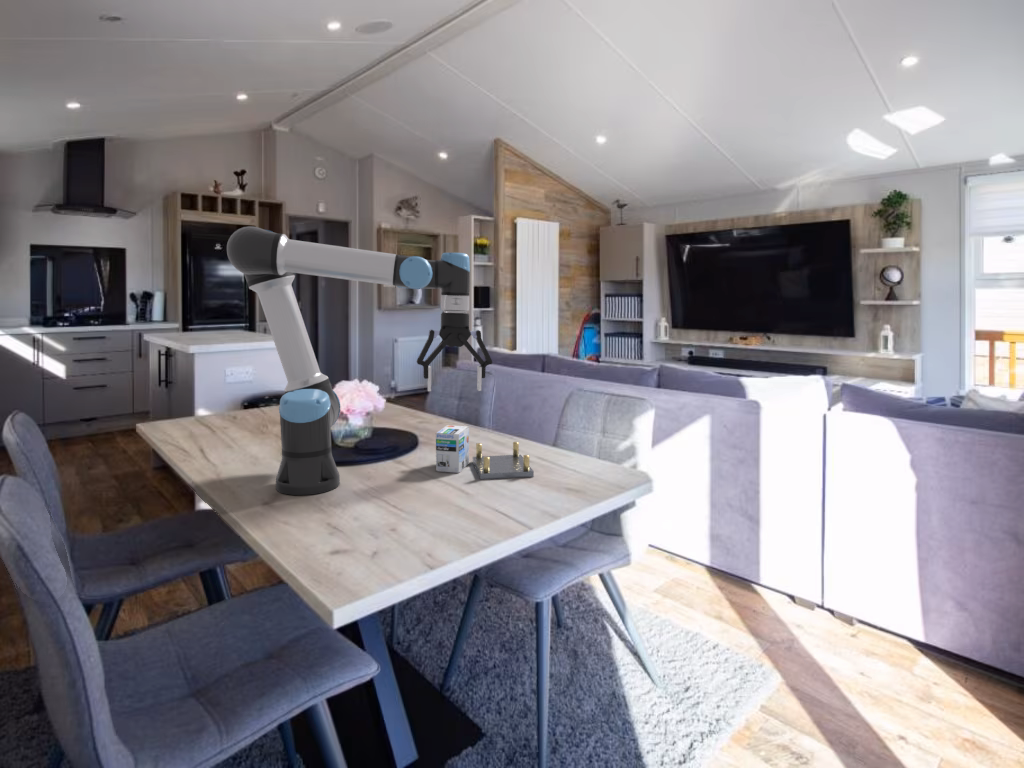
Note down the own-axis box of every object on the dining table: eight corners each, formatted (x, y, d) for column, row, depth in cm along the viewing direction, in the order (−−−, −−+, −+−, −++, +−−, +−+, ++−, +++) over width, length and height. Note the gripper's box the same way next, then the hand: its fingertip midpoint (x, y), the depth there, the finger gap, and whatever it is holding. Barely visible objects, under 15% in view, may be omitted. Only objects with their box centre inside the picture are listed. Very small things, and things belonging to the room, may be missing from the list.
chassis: (480, 479, 164) (480, 458, 163) (472, 461, 180) (472, 442, 179) (533, 476, 166) (533, 456, 166) (520, 459, 183) (520, 441, 182)
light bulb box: (459, 473, 169) (459, 434, 167) (435, 472, 170) (434, 432, 169) (469, 462, 179) (469, 425, 178) (447, 461, 181) (446, 424, 179)
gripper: (408, 311, 163) (408, 393, 166) (503, 313, 168) (502, 392, 171) (407, 310, 170) (407, 388, 173) (498, 311, 175) (497, 387, 178)
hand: (454, 390), depth 172 cm, fingers open, 13 cm apart
